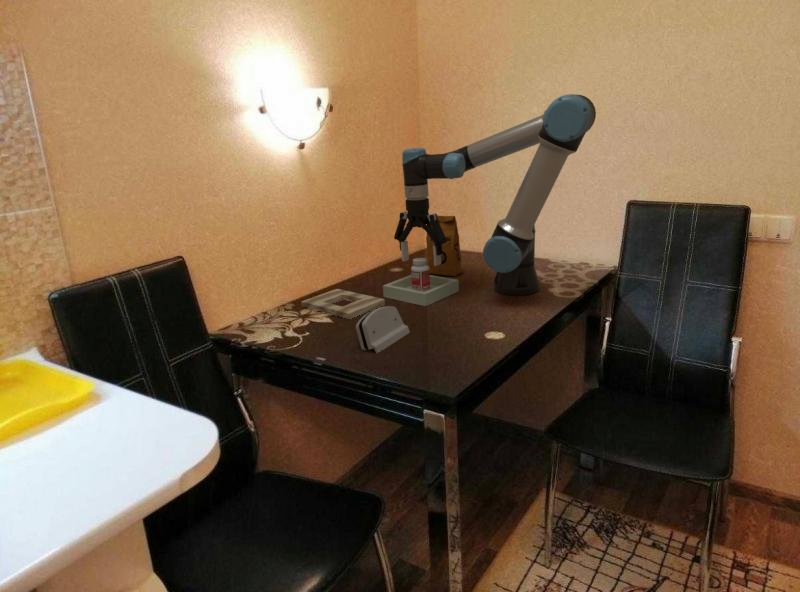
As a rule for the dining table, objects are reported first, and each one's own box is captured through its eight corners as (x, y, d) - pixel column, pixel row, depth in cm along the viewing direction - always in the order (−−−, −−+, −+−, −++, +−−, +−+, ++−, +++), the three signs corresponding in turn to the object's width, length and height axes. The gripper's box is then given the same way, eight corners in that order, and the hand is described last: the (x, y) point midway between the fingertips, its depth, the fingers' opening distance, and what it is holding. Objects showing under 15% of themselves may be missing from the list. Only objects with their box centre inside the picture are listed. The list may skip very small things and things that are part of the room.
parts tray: (458, 291, 199) (458, 279, 198) (425, 306, 186) (425, 294, 185) (417, 283, 210) (416, 272, 209) (383, 297, 198) (382, 285, 196)
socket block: (384, 305, 189) (384, 299, 189) (349, 319, 178) (348, 313, 178) (337, 294, 203) (337, 288, 203) (301, 307, 192) (301, 301, 191)
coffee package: (455, 278, 213) (453, 218, 207) (424, 276, 219) (421, 217, 212) (465, 271, 222) (464, 213, 215) (435, 269, 227) (432, 212, 221)
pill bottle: (430, 288, 201) (429, 256, 197) (430, 293, 195) (429, 261, 192) (411, 288, 201) (410, 257, 198) (411, 294, 195) (410, 262, 192)
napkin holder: (376, 353, 153) (363, 317, 152) (363, 356, 156) (350, 321, 154) (410, 331, 166) (398, 298, 165) (397, 334, 169) (385, 302, 168)
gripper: (380, 198, 194) (385, 261, 200) (441, 201, 178) (444, 269, 184) (395, 195, 199) (400, 256, 205) (455, 197, 183) (458, 263, 189)
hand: (421, 262), depth 195 cm, fingers open, 13 cm apart
